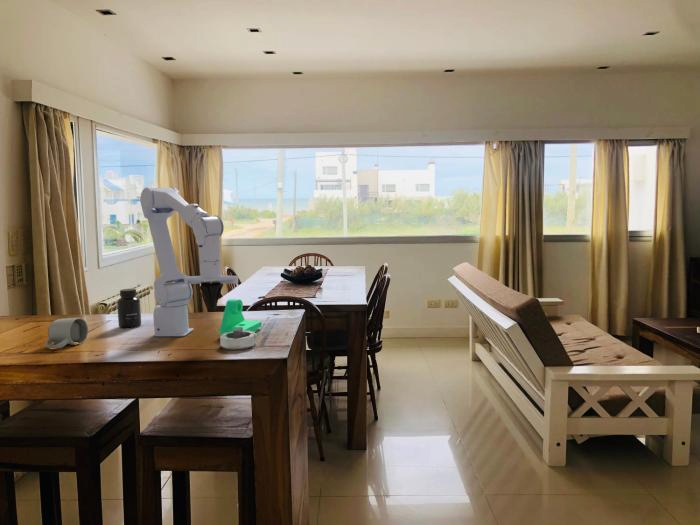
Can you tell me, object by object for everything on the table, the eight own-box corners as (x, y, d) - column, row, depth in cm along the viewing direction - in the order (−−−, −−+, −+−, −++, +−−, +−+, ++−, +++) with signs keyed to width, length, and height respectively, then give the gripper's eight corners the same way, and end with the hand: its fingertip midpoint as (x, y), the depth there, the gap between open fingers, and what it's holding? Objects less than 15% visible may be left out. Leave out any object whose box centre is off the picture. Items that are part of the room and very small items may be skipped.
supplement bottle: (131, 329, 172) (128, 292, 170) (114, 328, 174) (111, 291, 172) (146, 324, 178) (143, 288, 177) (129, 323, 180) (126, 287, 179)
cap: (226, 346, 148) (225, 331, 148) (232, 341, 153) (231, 326, 153) (245, 346, 148) (244, 331, 147) (250, 341, 153) (249, 326, 152)
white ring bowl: (217, 350, 147) (216, 339, 146) (227, 340, 156) (227, 330, 155) (250, 350, 146) (249, 339, 145) (258, 340, 155) (258, 330, 154)
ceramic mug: (65, 339, 162) (62, 314, 161) (89, 340, 160) (87, 314, 159) (38, 350, 151) (35, 323, 150) (64, 351, 150) (61, 324, 149)
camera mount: (243, 339, 157) (241, 304, 156) (220, 337, 160) (218, 303, 158) (262, 329, 169) (261, 296, 167) (240, 327, 171) (239, 295, 170)
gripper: (178, 263, 146) (181, 312, 148) (231, 262, 145) (234, 312, 146) (188, 259, 153) (191, 307, 155) (239, 258, 152) (241, 306, 153)
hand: (213, 309), depth 151 cm, fingers closed
